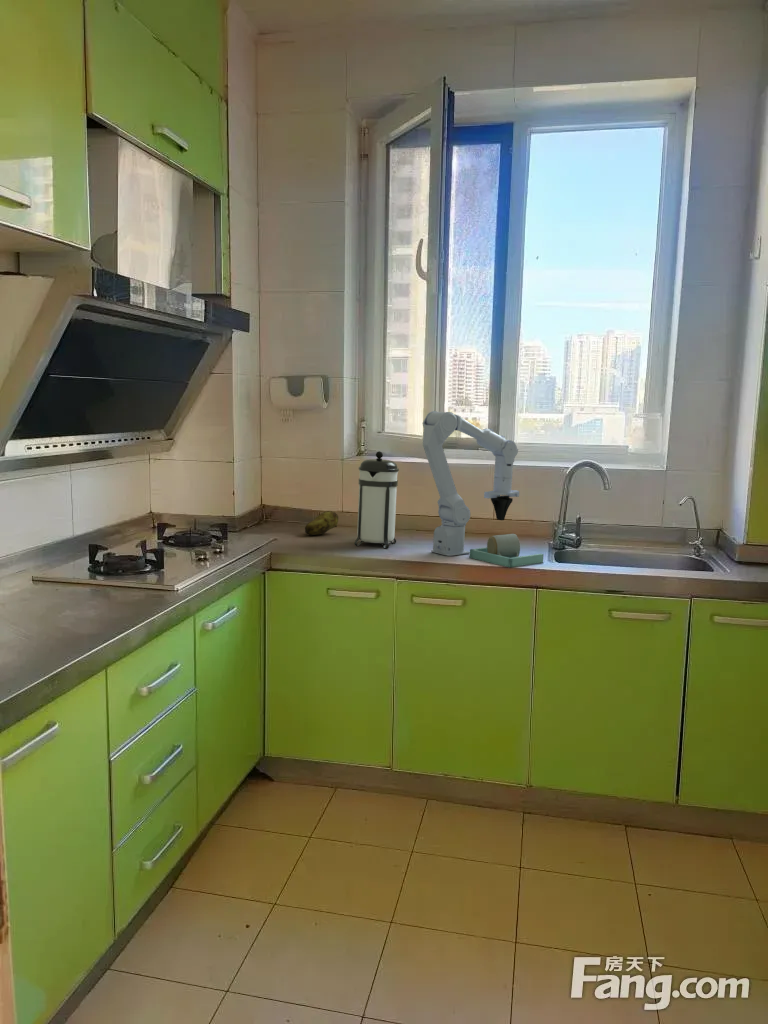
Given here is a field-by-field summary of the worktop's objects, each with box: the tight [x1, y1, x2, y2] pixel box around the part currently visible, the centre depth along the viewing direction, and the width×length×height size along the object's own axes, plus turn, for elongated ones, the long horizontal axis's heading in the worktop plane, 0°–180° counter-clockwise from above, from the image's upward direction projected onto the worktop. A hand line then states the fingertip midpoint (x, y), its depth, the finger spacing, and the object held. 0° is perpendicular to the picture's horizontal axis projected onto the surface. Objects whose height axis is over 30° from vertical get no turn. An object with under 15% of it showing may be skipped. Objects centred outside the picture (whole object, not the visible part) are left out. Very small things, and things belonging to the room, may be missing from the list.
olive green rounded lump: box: [304, 510, 339, 536], centre depth 261 cm, size 8×13×8 cm, turn 118°
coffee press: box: [354, 450, 400, 549], centre depth 247 cm, size 17×16×30 cm
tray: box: [469, 546, 544, 568], centre depth 232 cm, size 15×16×2 cm
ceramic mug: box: [486, 533, 521, 558], centre depth 230 cm, size 11×8×8 cm
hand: (500, 519), depth 246 cm, fingers closed
